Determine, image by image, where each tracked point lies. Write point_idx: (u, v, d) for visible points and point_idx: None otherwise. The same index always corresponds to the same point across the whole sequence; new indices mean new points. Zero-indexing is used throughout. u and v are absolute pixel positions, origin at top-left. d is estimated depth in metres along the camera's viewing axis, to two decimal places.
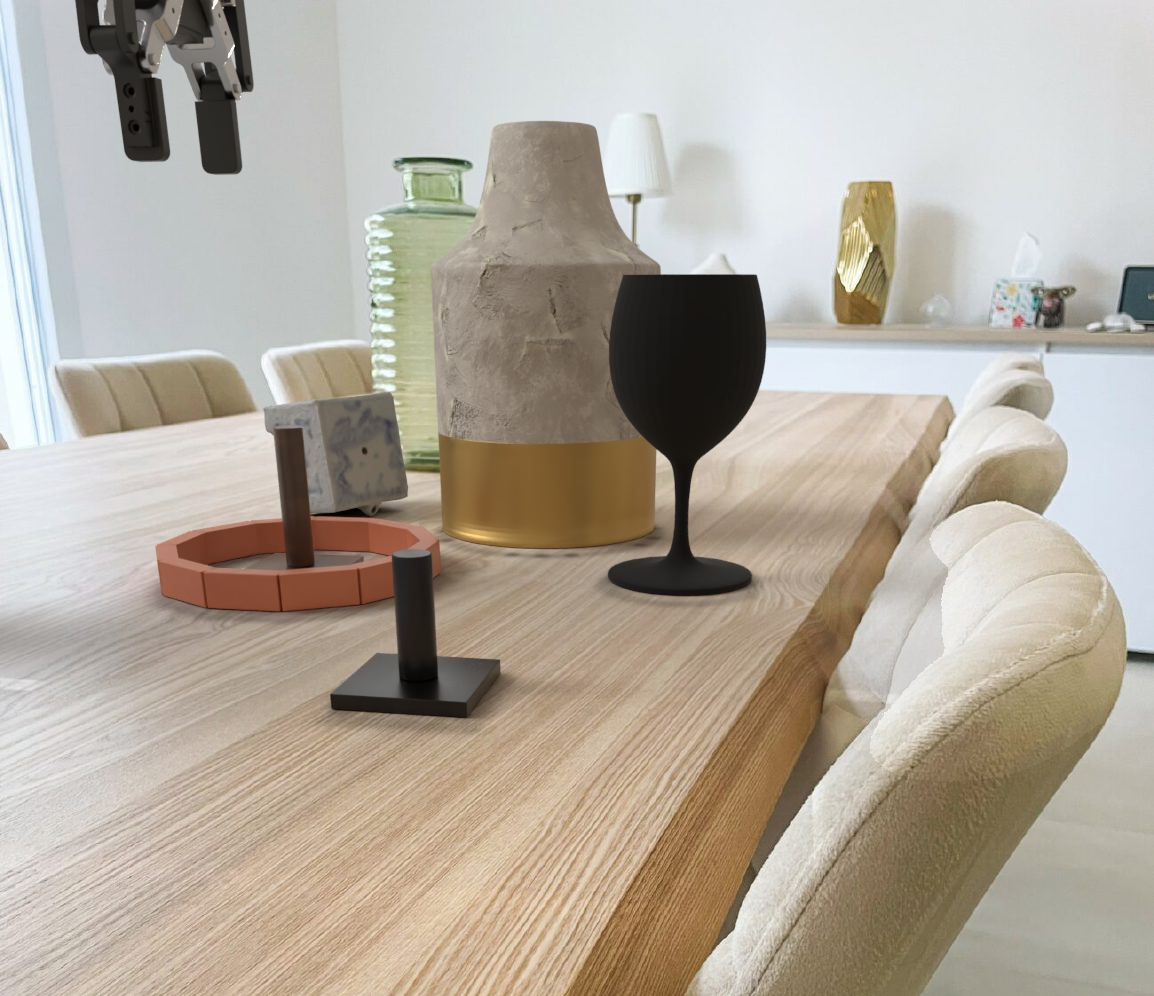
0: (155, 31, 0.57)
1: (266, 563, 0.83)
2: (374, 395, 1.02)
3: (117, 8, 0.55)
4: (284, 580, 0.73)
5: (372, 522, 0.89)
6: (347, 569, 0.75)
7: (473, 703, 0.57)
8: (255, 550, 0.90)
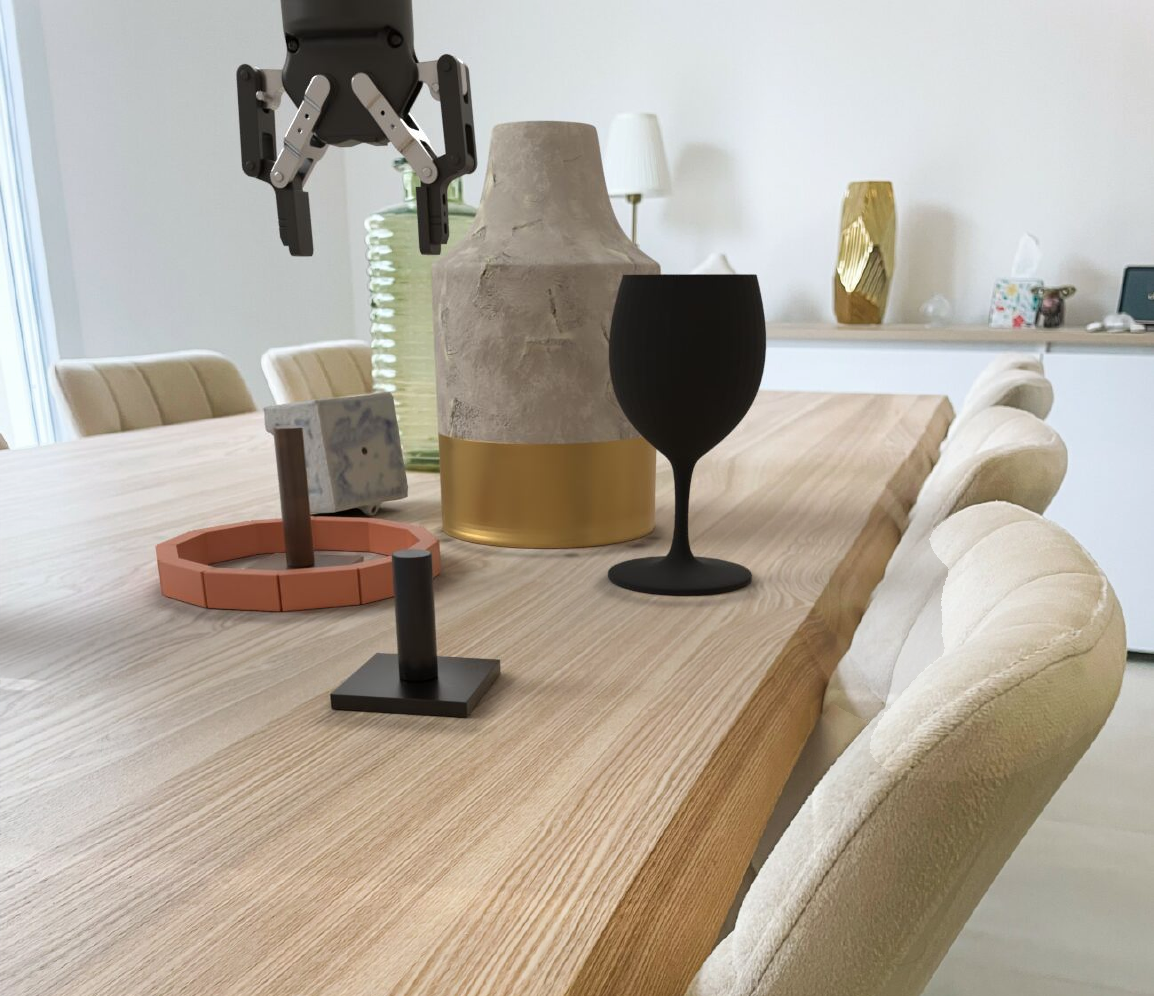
0: None
1: (266, 563, 0.83)
2: (374, 395, 1.02)
3: (474, 141, 0.69)
4: (284, 580, 0.73)
5: (372, 522, 0.89)
6: (347, 569, 0.75)
7: (473, 703, 0.57)
8: (255, 550, 0.90)
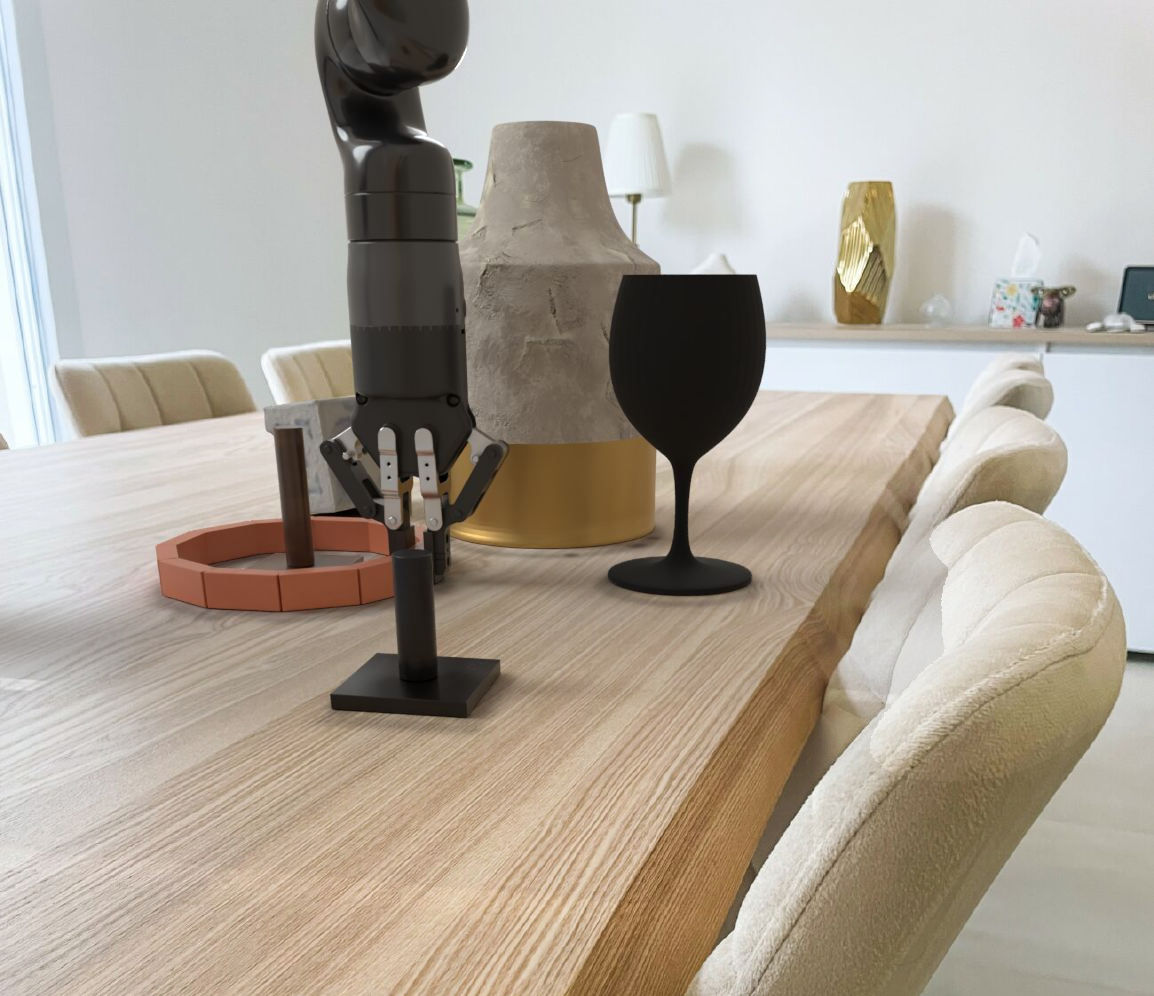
0: None
1: (266, 563, 0.83)
2: None
3: (481, 499, 0.80)
4: (284, 580, 0.73)
5: (372, 522, 0.89)
6: (347, 569, 0.75)
7: (473, 703, 0.57)
8: (255, 550, 0.90)
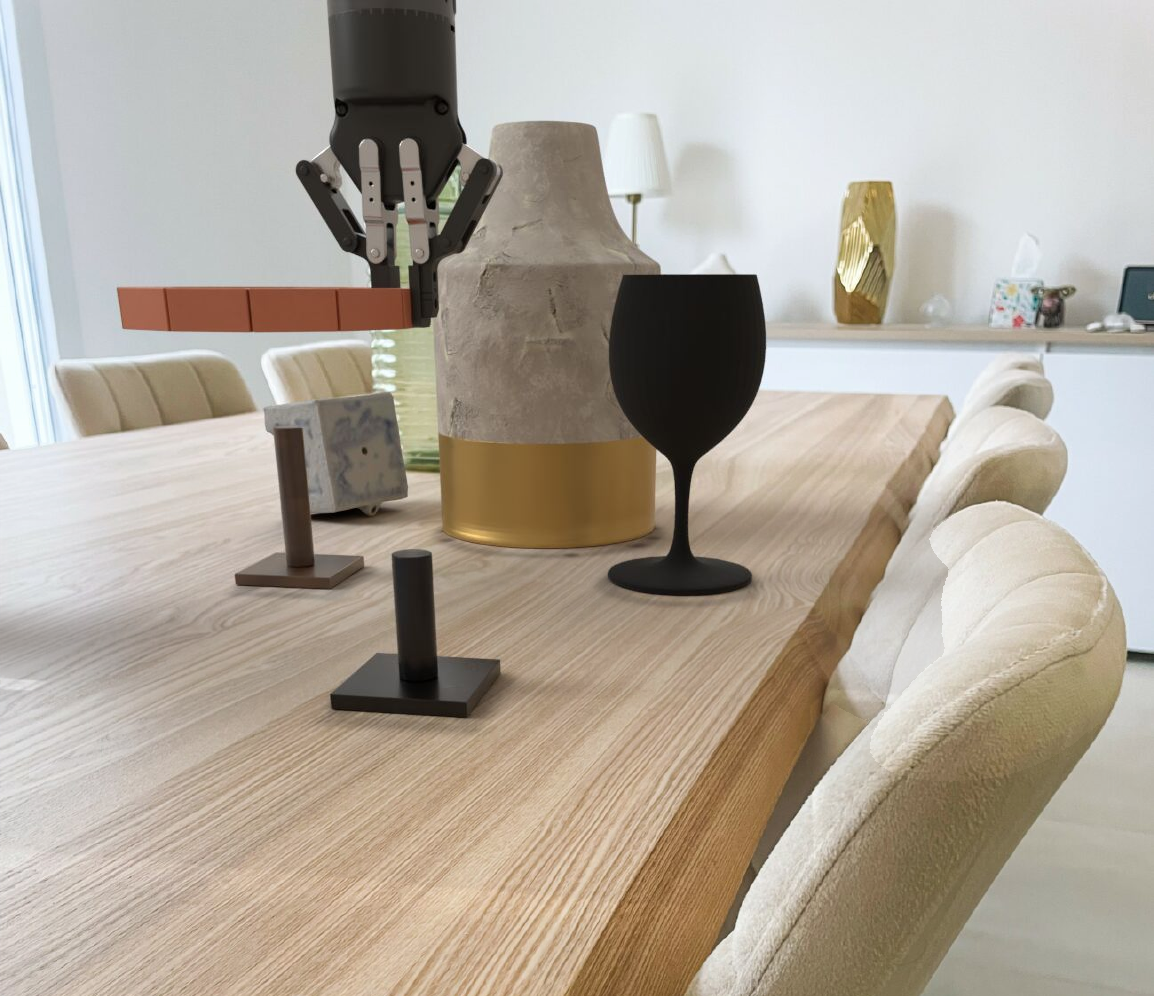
0: None
1: (266, 563, 0.83)
2: (374, 395, 1.02)
3: (472, 232, 0.73)
4: (254, 295, 0.67)
5: (354, 287, 0.83)
6: (324, 288, 0.68)
7: (473, 703, 0.57)
8: None
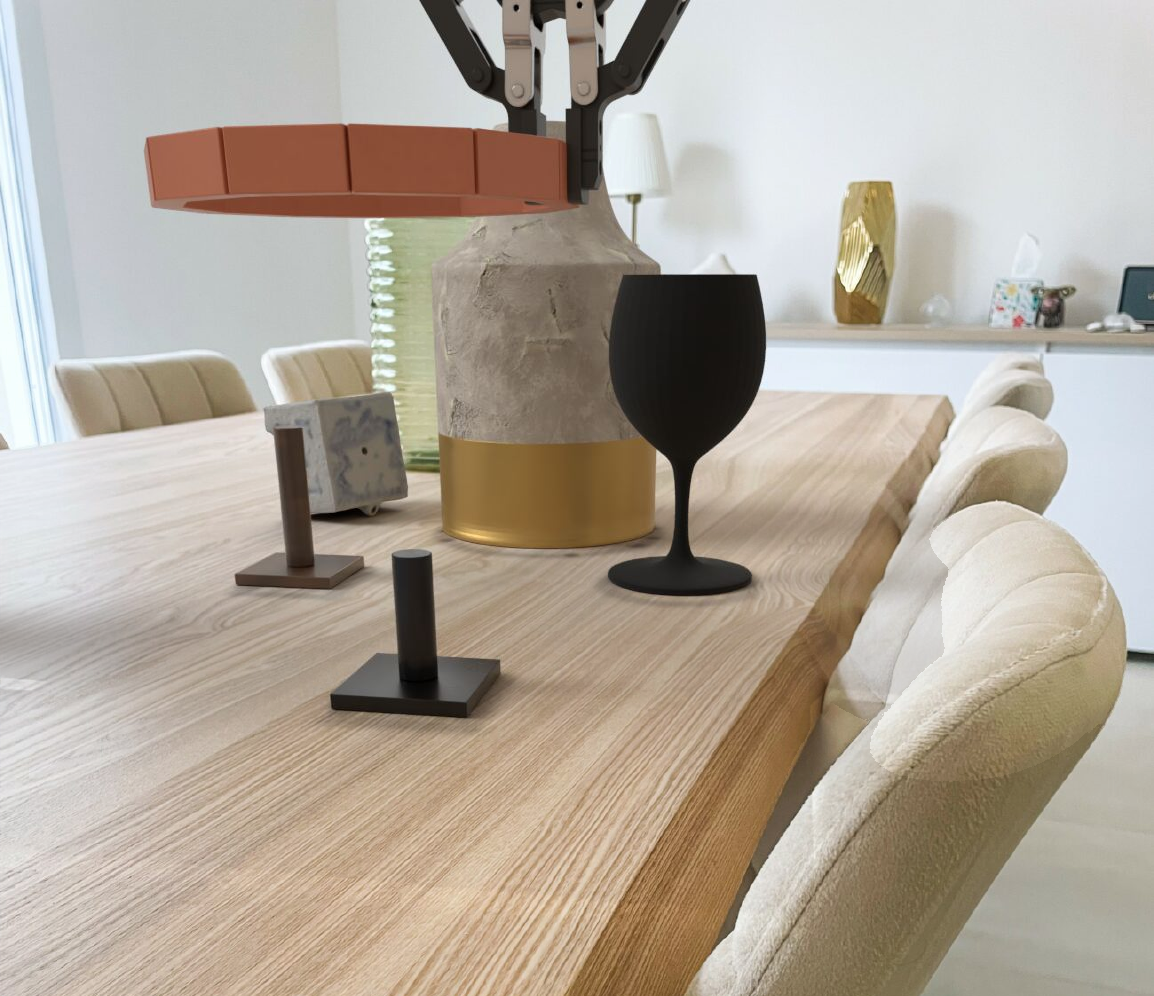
0: None
1: (266, 563, 0.83)
2: (374, 395, 1.02)
3: (655, 62, 0.51)
4: (356, 134, 0.44)
5: None
6: (457, 127, 0.46)
7: (473, 703, 0.57)
8: (292, 208, 0.60)
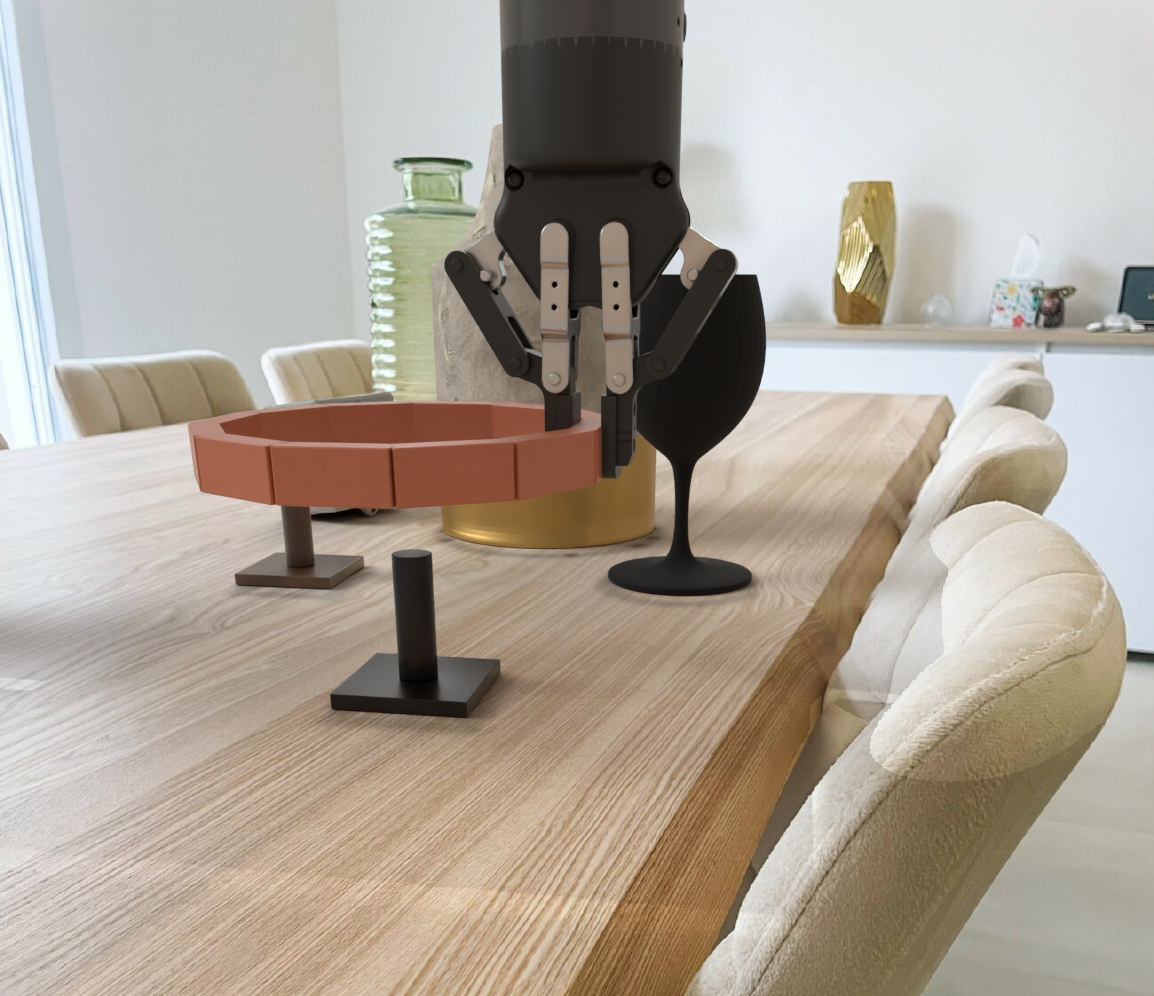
0: None
1: (266, 563, 0.83)
2: (374, 395, 1.02)
3: (689, 347, 0.52)
4: (401, 457, 0.46)
5: (498, 405, 0.62)
6: (498, 442, 0.47)
7: (473, 703, 0.57)
8: None
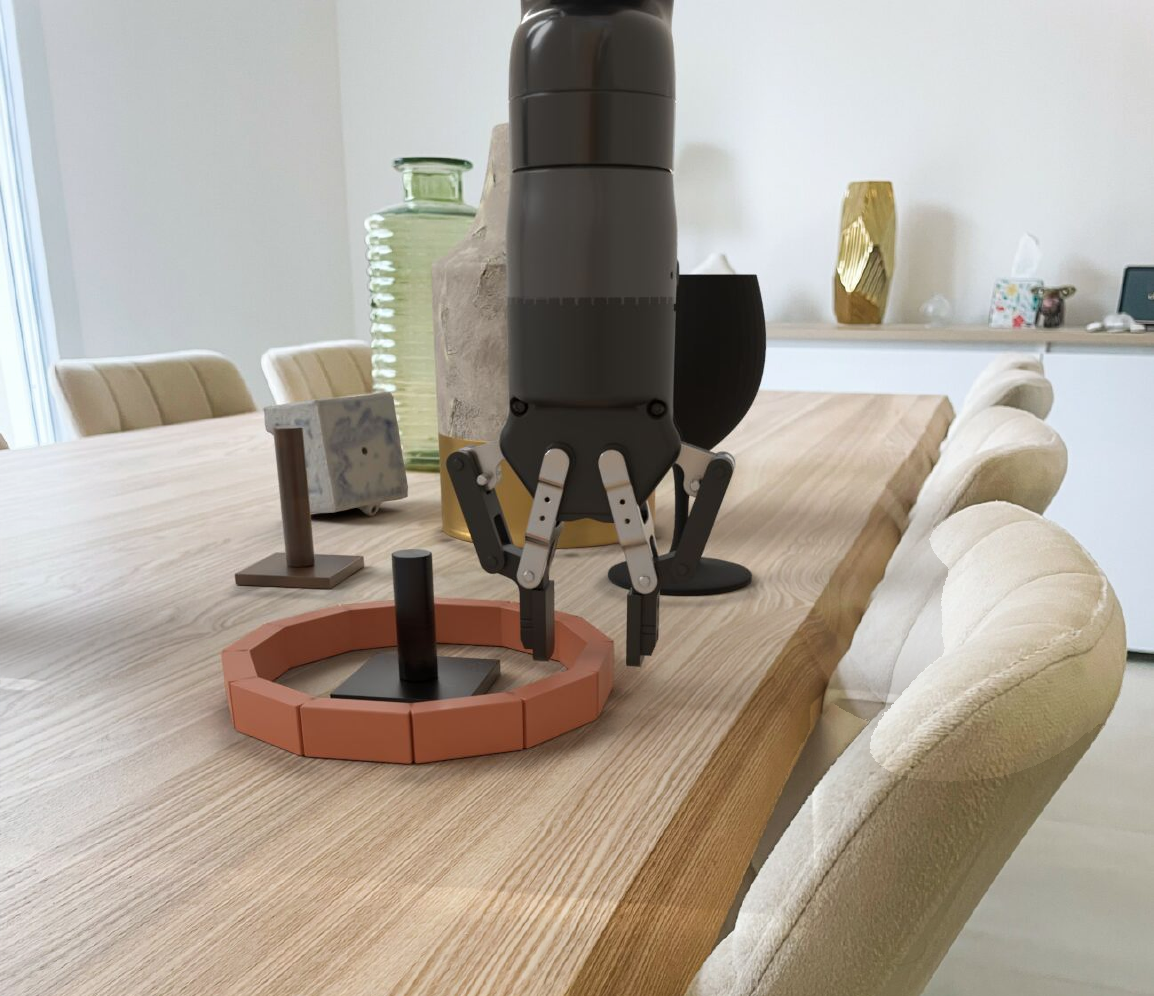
0: None
1: (266, 563, 0.83)
2: (374, 395, 1.02)
3: None
4: (419, 720, 0.50)
5: (507, 608, 0.66)
6: (508, 701, 0.51)
7: None
8: (348, 645, 0.66)
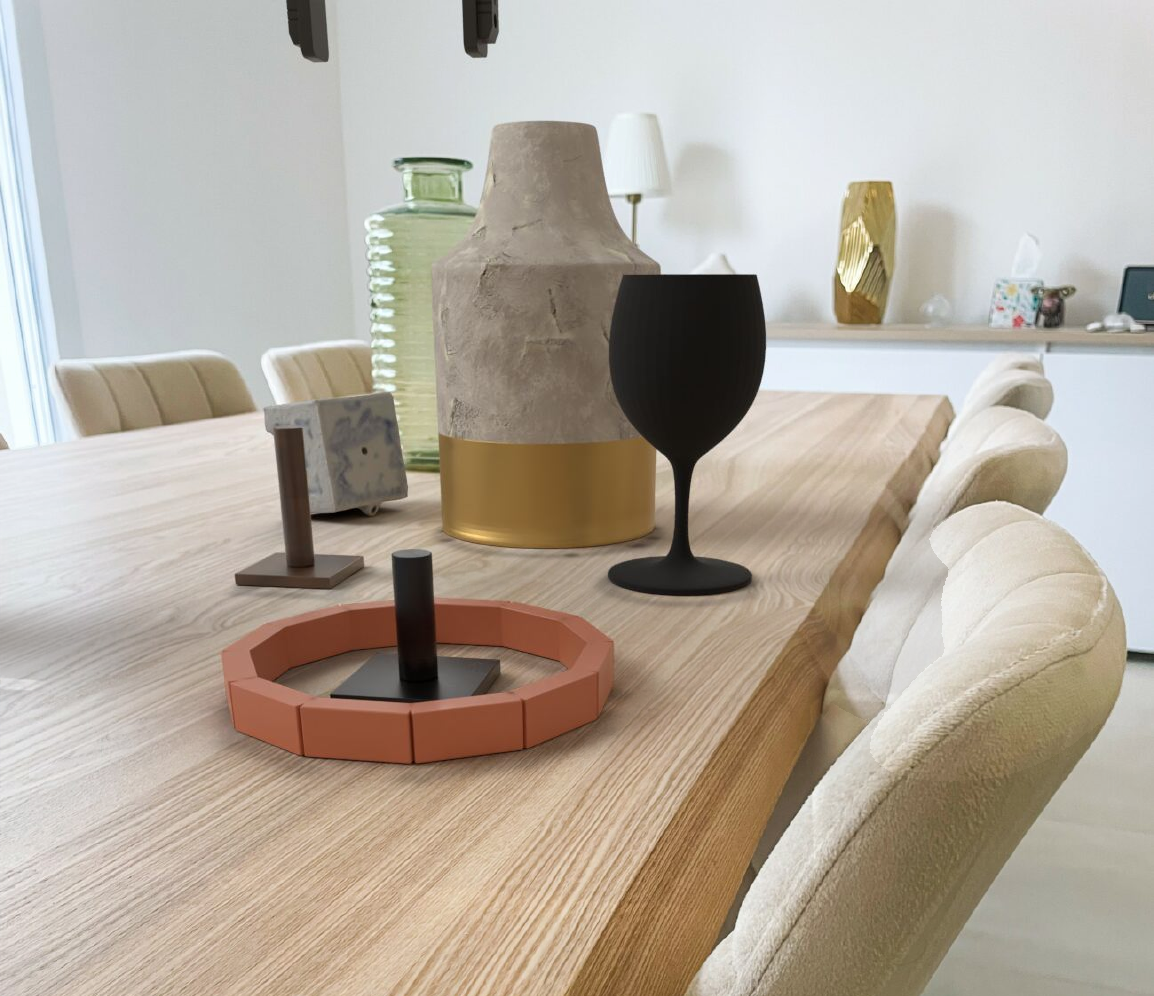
0: None
1: (266, 563, 0.83)
2: (374, 395, 1.02)
3: None
4: (419, 720, 0.50)
5: (507, 608, 0.66)
6: (508, 701, 0.51)
7: None
8: (348, 645, 0.66)
